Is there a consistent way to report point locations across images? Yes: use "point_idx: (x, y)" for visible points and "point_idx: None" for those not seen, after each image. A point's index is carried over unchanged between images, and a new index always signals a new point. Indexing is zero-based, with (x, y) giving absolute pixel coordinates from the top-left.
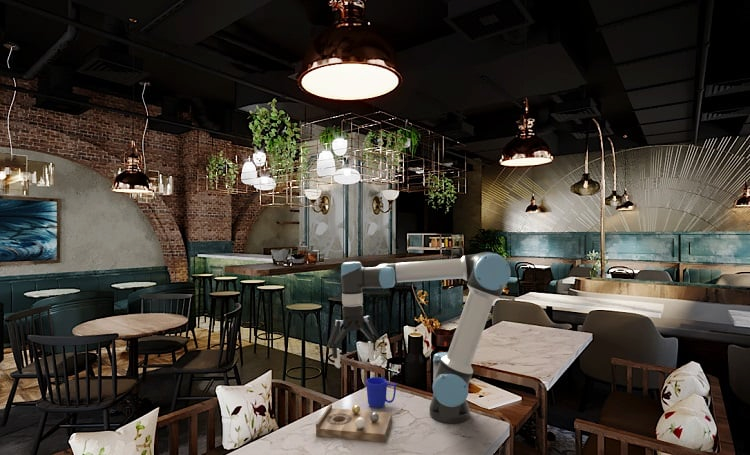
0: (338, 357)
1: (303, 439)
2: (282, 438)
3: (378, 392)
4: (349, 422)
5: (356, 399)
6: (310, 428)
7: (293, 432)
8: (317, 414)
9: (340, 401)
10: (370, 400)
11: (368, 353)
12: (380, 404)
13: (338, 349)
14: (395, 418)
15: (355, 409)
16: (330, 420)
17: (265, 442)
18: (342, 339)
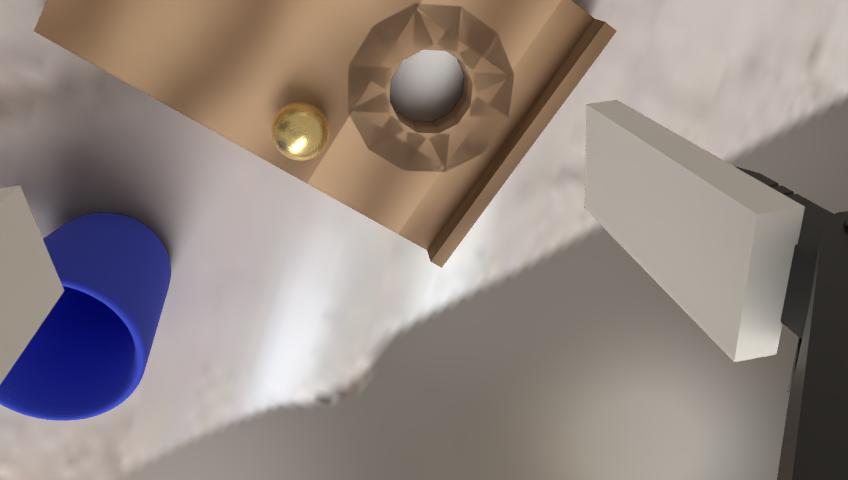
0: (687, 148)
1: (664, 9)
2: (752, 70)
3: (74, 250)
4: (383, 15)
5: (225, 369)
6: (585, 122)
7: (679, 113)
8: (495, 266)
9: (325, 372)
10: (154, 255)
11: (29, 340)
12: (90, 217)
13: (780, 208)
14: (22, 33)
15: (311, 111)
16: (488, 96)
17: (837, 64)
18: (819, 378)
